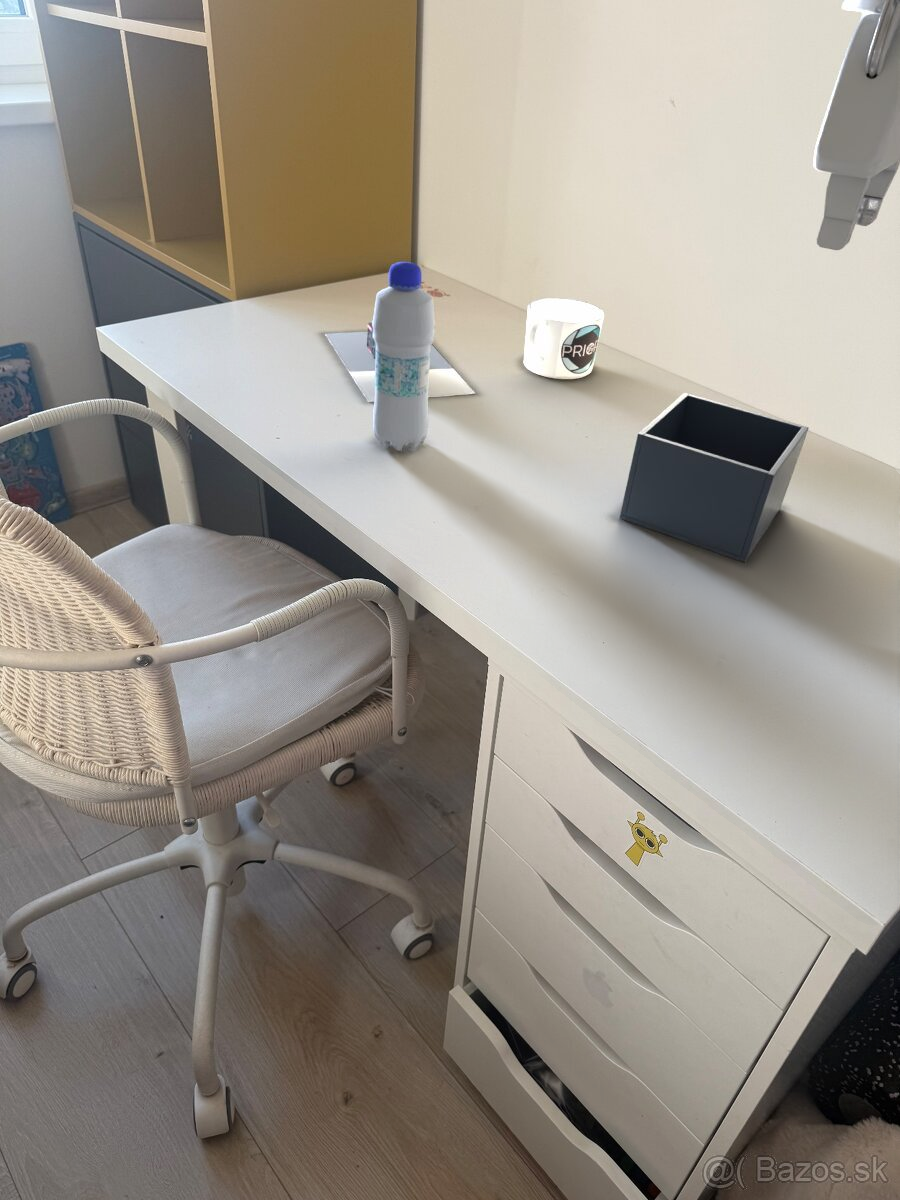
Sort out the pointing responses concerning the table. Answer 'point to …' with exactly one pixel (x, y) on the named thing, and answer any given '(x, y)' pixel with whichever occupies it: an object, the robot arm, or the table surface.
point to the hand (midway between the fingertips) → (846, 234)
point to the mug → (562, 337)
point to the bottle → (402, 358)
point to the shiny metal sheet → (360, 363)
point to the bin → (711, 474)
